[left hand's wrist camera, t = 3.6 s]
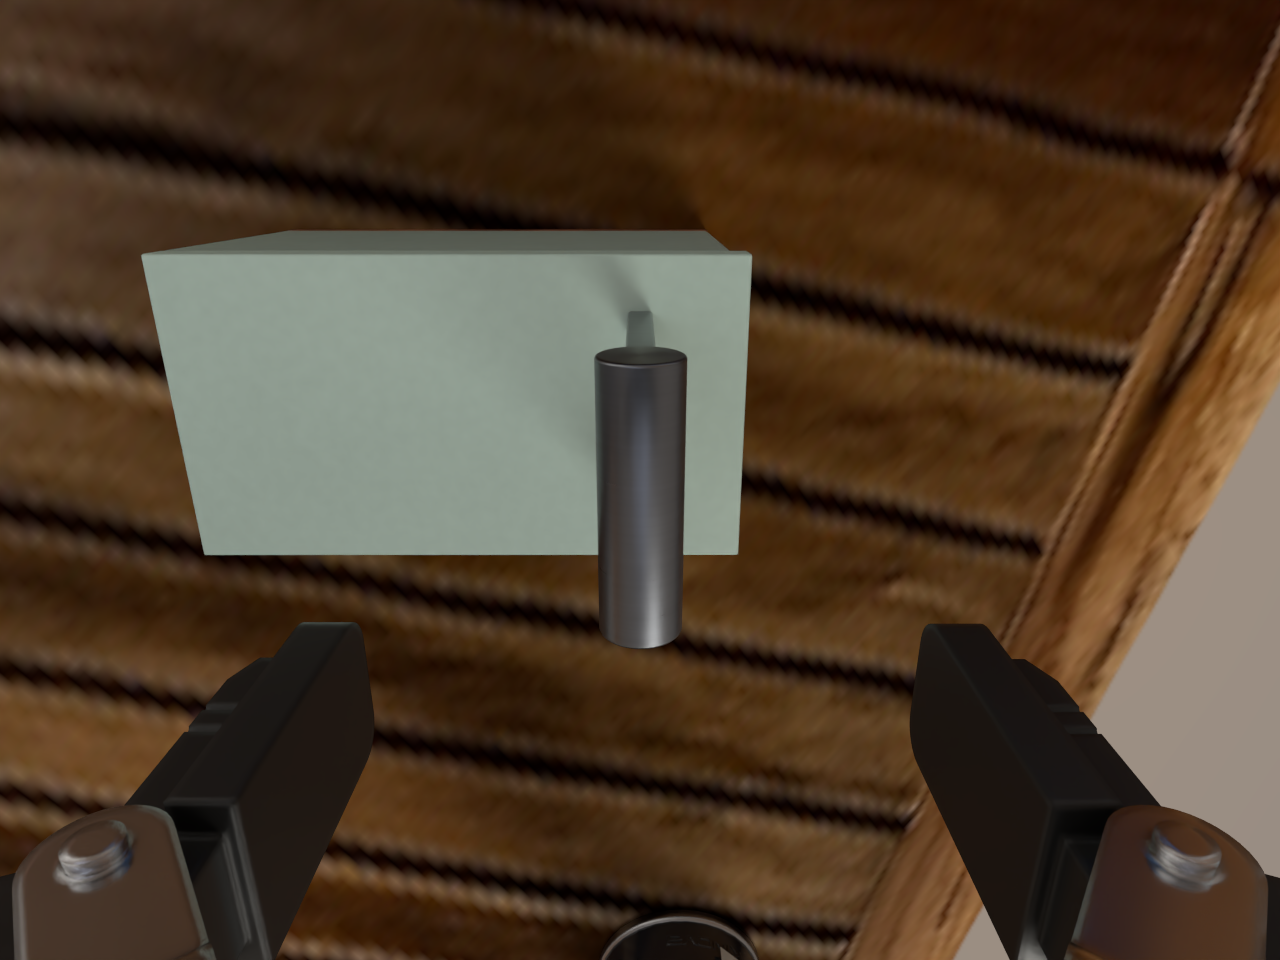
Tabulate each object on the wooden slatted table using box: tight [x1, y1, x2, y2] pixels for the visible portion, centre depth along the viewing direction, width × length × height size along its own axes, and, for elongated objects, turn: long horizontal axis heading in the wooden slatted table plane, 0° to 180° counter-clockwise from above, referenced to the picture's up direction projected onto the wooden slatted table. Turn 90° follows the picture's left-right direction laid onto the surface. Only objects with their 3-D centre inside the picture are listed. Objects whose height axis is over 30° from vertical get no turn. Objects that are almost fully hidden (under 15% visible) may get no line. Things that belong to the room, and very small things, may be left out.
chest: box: [166, 229, 729, 251], centre depth 30 cm, size 17×9×10 cm, turn 90°
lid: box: [141, 251, 752, 649], centre depth 21 cm, size 17×9×9 cm, turn 90°
